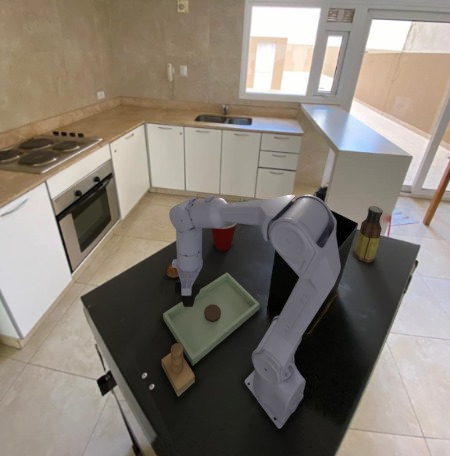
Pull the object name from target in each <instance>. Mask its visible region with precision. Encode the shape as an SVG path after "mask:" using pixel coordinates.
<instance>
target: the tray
mask: <svg viewBox="0 0 450 456" xmlns="http://www.w3.org/2000/svg"><path fill="white" fill-rule="evenodd" d="M211 304H214V305H217V306H218V307H219V308H220V309H221V316H220V318H219V320H217V321H215V322H210V321H208V320H207V319H206V318H205V316H204V311H205V308H206V307H207V306H208V305H211ZM260 305H261V304H260V302H258V300H257V299H255V298H254V297H253V296H252V295H251V294H250V293H249V292H248V291H247V290H246V289H245V288H244V287H243V286H242V285H241V284H240V283H239V282H238V281H237V280H236V279H235V278H234V277H232V275H231V274H229V273H228V272H225V273H224V274H222V275H220V276H219V277H218V278H216V279H215V280H213V281H211V282H210V283H209V284H207V285H205V286H203V287H202V288H200V292H199V294H198V295H197V296H196V298H195V301H194V305H193V307H184V306H183V303H182V301H181V302H179V303H177V304H176V305H174V306H173V307H171V308H170V309H168V310H166V311H165V312H163V313H162V318H163V321H164V322H165V324H166V326H167V327H168V329H169V330H170V332H171V335H173V337H174V339H175V341H176V343H180V344H181V345H182V347H183V354H184V355H185V357H186V358H187V360H188V361H189V363H190V364H191V366H192V367H193V366H194V365H196V364H197V363H198V362H199V361H200V360H202V359H203V358H204V357H205V356H206V355H207V354H209V353H210V352H211V351H212V350H213V349H214V348H215V347H217V346H218V345H219V344H221V342H223V341H224V340H225V339H226V338H227V337H229V336H230V335H231V334H232V333H233V332H234V331H236V330H237V329H238V328H239V327H241V325H243V324H244V323H245V322H247V320H249V319H250V318H251V317H253V315H255V314H256V313H257V312H258V311H259V310H260Z"/></svg>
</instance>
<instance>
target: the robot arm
mask: <svg viewBox="0 0 450 456" xmlns="http://www.w3.org/2000/svg"><path fill="white" fill-rule="evenodd" d="M168 216H169V221H170V223H171V224H172V225H171V226H173V227H174V229H175V238H176V239H175V243H176V244H175V247H176V258H174V259H172V261H171V264H172V267H173V268H177V271H178V274H179V277H178V278H179V281H176V282H175V283H174V294H175V295H177V296H178V297H179V298H180V301H181V302H182V303H183V306H184V307H193V305H194V301H195V298H196V296H197V295H198V294H199V292H200V290H201V283H195V281H196V280H197V278H198V276H199V274H200V272H201V271H202V268H203V265H204V264H203V263H204V262H203V261H204V260H203V256H204V255H203V254H204V253H203V229H211V228H218V229H221V228H223V227H225V226H226V225H227V224H228V223H237V225H249V226H258V227H259V229H260V232H261V235H262V238H263V240H264V241H265V242H269V241H270V244H271V245H272V247H273V248H274V250H275V251H276V253H278V255H279V256H280V257H281V258H282V260H284V262H285V263H286V264H287V265H288V266H289V267H290V268H291V269H292V270H293V272H294V273H295V274H296V275H297V276H298V277H299V278H298V280H297V281H296V283H295V285H294V287H293V289H292V291H291V293H290V294H289V296H288V299H287V300H286V302H285V304H284V306H283V307H282V310H281V311H280V313H279V315H276V316H274V317H273V318H272V321H271V324H270V326H269V327H268V329H267V330H266V332H265V334H264V336H263V337H262V339H261V341H260V342H259V344H258V345H257V347H256V349H254V350H253V352H252V353H251V361H252V364H253V368H254V369H253V371H252V372H251V373H250V374H249V375H248V376H247V377H246V378H245V379H244V384H245V386H246V388H248V389H249V391H250V392H251V394H252V395H253V396H254V398H256V400H257V403H258V404H259V405H260V406H261V408H262V409H263V410H264V411H265V413H266V414H267V415H268V417H269V418H270V420H271V421H272V422H273V424H274V425H275V426H276V428H277V429H282V427H283V426H284V425H285V423H286V422H287V421H288V420H289V418H290V416H291V415H292V414H293V413H294V412H295V411H296V410H297V408H298V406H299V404H300V403H301V401H302V400H303V399H304V390H305V386H306V383H307V382H306V380H305V378H304V377H303V376H302V374H301V372H300V371H299V370H298V368H297V366H296V364H295V354H296V351H297V349H298V347H299V346H300V344H301V342H302V339H303V335H304V333H305V331H306V330H307V329H308V327H309V326H310V324H311V322H312V321H313V319H314V318H315V316H316V314H317V313H318V311H319V310H320V308H321V307H322V305H323V303H324V302H325V300H326V299H327V297H328V296H329V294H330V292H331V291H332V289H333V288H334V286H335V285H336V282H337V280H338V277H339V275H340V274H341V269H342V266H341V259H340V253H339V247H338V240H337V239H338V238H337V224H338V223H337V222H338V221H337V219H336V217H335V215H334V214H333V212H332V211H331V208H330V207H329V206H328V205H327V203H326V202H325V201H324V200H322V198H320V197H318V196H315V195H312V194H303V195H302V194H301V195H300V196H298V197H297V195H295V194H286V195H281V196H277V197H271V198H263V199H256V200H246V201H238V202H230V203H229V202H228V201H227V200H226V199H224V198H222V197H215V196H214V195H211V194H210V195H208V196H206V197H204V198H200V197H195V196H191V197H188V198H187V199H185V200H183V201H181V202H180V203H178V204H176V205H174V206H173V207H172V208H170V210H169V213H168Z"/></svg>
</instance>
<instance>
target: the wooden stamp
mask: <svg viewBox="0 0 450 456" xmlns="http://www.w3.org/2000/svg"><path fill="white" fill-rule="evenodd" d="M160 360H161V361H160V362H161V367H162V369H163V371H164V373H165V375H166V377H167V378H168V381H169V382H170V384H171V386H172V388H173V390H174V391H175V393H176V396H177V397H180V396H181V395H182V394H183V393H184V392H185V391H186V390H188V389H189V388H190V387H191V386H192V385H193V384H194V383H195V381H196V378H195V377H196V376H195V374H194V371H192V369H191V367H190V365H189V364H188V363H187V361H186V359H185V357H184V352H183V347H182V345H181V344H180V343H178V342H175V343H174V344H173V345H171V348H170V352H169V353H168V354H167V355H166V356H164V357H163V358H162V359H160Z"/></svg>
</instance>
